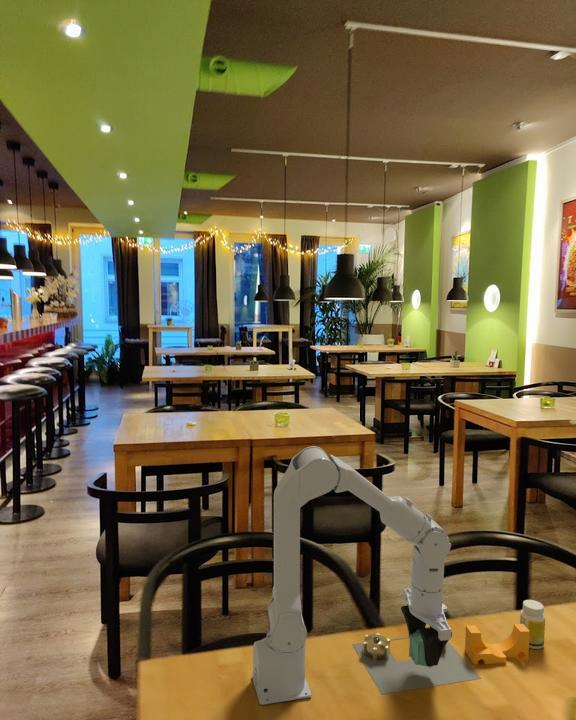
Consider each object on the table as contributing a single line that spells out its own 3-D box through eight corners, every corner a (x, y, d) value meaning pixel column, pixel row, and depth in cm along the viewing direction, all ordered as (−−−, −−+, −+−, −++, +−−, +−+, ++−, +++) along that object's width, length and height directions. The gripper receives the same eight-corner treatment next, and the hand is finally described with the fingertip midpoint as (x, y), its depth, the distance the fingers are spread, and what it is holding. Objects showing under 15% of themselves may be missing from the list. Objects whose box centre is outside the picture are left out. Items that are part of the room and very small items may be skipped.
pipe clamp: (473, 670, 104) (475, 638, 104) (464, 656, 109) (466, 625, 108) (532, 668, 105) (534, 636, 105) (521, 654, 109) (523, 623, 109)
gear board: (381, 699, 95) (382, 678, 95) (351, 648, 110) (352, 630, 109) (481, 683, 100) (482, 662, 100) (439, 636, 115) (440, 618, 114)
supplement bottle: (548, 644, 112) (550, 606, 112) (535, 652, 110) (537, 613, 109) (527, 633, 116) (529, 596, 116) (514, 640, 114) (516, 602, 113)
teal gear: (418, 669, 98) (419, 647, 97) (405, 651, 103) (405, 630, 102) (443, 665, 99) (444, 644, 98) (428, 647, 104) (429, 627, 104)
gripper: (468, 603, 94) (464, 676, 95) (427, 565, 108) (424, 630, 109) (431, 607, 92) (428, 682, 93) (395, 568, 106) (392, 634, 107)
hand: (423, 654), depth 101 cm, fingers closed on teal gear, 5 cm apart
